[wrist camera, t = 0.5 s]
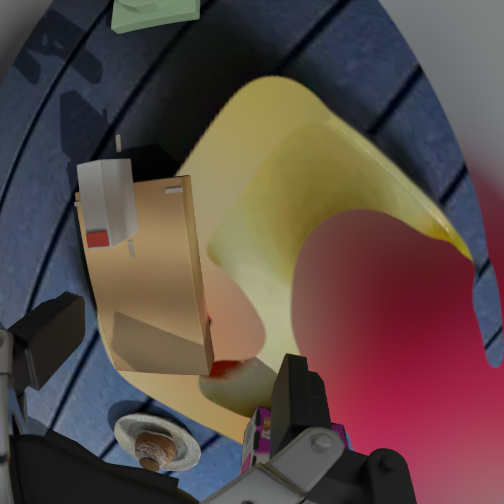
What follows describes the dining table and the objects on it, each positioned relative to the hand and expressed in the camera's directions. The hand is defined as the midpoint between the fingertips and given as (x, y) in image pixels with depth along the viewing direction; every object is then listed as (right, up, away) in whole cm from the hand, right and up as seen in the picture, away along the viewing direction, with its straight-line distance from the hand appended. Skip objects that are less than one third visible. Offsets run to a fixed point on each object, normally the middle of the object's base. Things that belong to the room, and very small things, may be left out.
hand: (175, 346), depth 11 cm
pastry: (-10, -21, +25) cm, 34 cm away
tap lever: (-7, +8, +13) cm, 17 cm away
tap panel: (-7, +3, +18) cm, 19 cm away
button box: (-6, +28, +10) cm, 30 cm away
